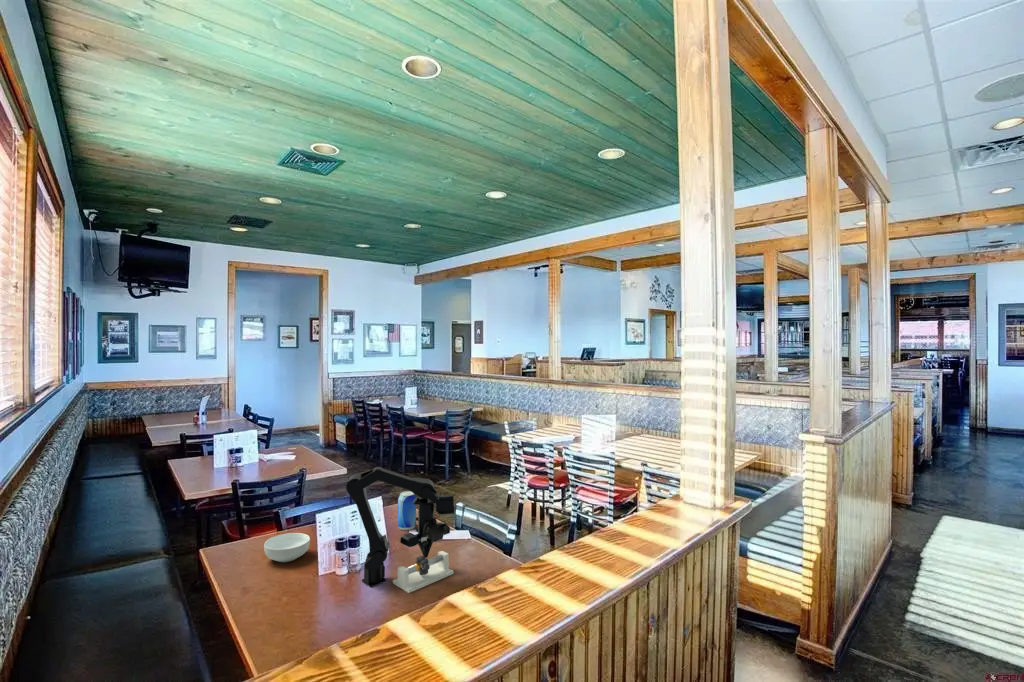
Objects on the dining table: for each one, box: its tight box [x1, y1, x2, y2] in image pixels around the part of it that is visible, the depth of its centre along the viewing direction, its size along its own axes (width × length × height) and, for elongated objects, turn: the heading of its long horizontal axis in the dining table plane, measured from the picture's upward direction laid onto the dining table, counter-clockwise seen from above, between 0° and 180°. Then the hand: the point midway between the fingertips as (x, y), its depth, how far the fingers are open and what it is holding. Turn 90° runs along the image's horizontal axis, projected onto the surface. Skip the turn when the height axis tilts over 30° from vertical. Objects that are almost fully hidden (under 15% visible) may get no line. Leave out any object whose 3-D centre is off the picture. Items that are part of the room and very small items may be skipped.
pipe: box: [406, 554, 443, 574], centre depth 181 cm, size 18×3×3 cm, turn 136°
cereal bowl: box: [263, 532, 311, 563], centre depth 198 cm, size 17×17×7 cm
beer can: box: [397, 490, 417, 531], centre depth 231 cm, size 8×8×16 cm
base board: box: [392, 550, 455, 594], centre depth 181 cm, size 20×10×6 cm, turn 136°
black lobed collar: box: [414, 554, 430, 575], centre depth 181 cm, size 2×7×7 cm, turn 47°
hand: (425, 557), depth 182 cm, fingers closed
